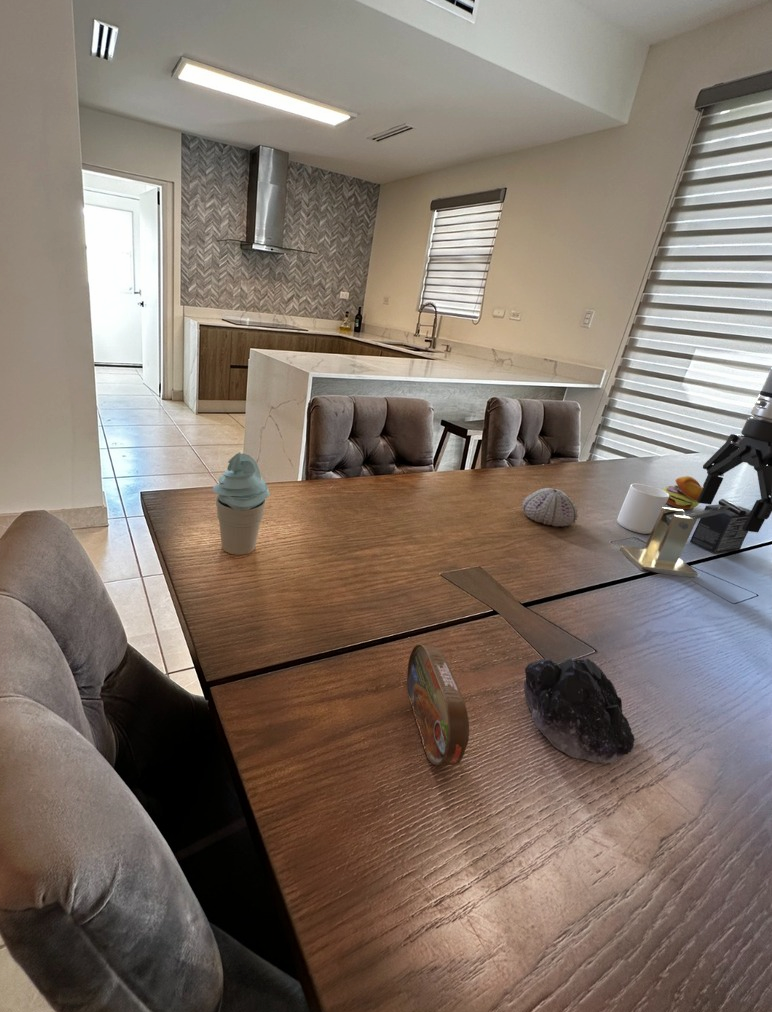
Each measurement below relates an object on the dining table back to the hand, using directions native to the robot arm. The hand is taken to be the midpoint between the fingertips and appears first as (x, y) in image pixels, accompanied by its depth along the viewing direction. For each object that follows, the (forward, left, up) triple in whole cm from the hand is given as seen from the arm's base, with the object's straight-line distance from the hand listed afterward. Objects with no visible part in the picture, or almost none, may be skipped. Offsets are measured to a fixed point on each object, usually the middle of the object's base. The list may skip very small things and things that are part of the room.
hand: (725, 516), depth 101 cm
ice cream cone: (+95, +39, -14) cm, 104 cm away
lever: (+4, +1, -1) cm, 5 cm away
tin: (+55, +67, -14) cm, 88 cm away
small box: (-10, -17, -14) cm, 24 cm away
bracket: (+9, +2, -13) cm, 16 cm away
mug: (+7, -20, -14) cm, 25 cm away
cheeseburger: (-12, -46, -14) cm, 49 cm away
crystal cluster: (+37, +59, -14) cm, 71 cm away
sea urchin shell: (+31, -11, -14) cm, 36 cm away
